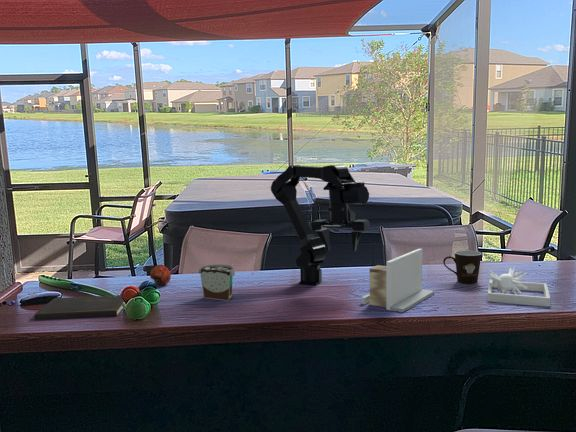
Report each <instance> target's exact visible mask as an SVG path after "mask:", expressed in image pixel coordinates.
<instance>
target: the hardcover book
mask: <svg viewBox="0 0 576 432" xmlns="http://www.w3.org/2000/svg"><path fill="white" fill-rule="evenodd" d="M121 295H122V294H121ZM121 295H118V294H117V295H115V296H116V297H117V298H114V297H109V296H110V295H98V296H93V295H92V296H77V297H76V296H75V297H71V296H70V297H55V298H53V299H52V300H50V301H49V302H48V303H47V304H45V305H44V306H43V307H42V308H40V309H39V310H37V312H35V313H34V321H47V320H68V319H69V320H70V319H89V318H91V319H92V318H110V317H112V318H113V317H118V315H119V313H120V312H121V310H122V309H123V308H124V307H123V306H122V304H123V302H124V300H123V299H122V298H121Z"/></svg>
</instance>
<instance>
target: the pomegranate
mask: <svg viewBox="0 0 576 432" xmlns="http://www.w3.org/2000/svg"><path fill="white" fill-rule="evenodd" d="M168 267H169V265H168V264H167V265H165V266H164V265H156V266H154V267H152V268H151V269H150V273H149V274H150V275H149V276H150V277H149V278H150V279H152V280H153V281H154V283H153V284H154V285H155V284H157V285H162V286H165V285H167V284H168V283H169V282H170V281H171V277H172V273H171V271H170V270H169V268H168Z"/></svg>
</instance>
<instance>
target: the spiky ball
mask: <svg viewBox="0 0 576 432" xmlns="http://www.w3.org/2000/svg"><path fill="white" fill-rule="evenodd" d="M487 271H488V272H487ZM487 271H486V274H487V275H488V277H489V278H490V280H492V281H493V282H492V283H491V282H490V281H488V286H489V285H490V287H491V290H492V293H494V292H493V288H492V287H496V285H497V284H498V288H497V293H498V292H501V294H508V291H510V290H511V292H512V293H514V295H518V294H517V292H518V293H520V295H523V294H522V293H523V292H522V290H519V289H518V288H517V287H523V288H525V289H527V288H528V287H527V286H524V285H523V284H522V283H520V282H522V281H523V278H522V277H524V276H525V275H528V272H525V273H523V272H524V270H523V269H522V270H520V271H516V272H515V267H513V268H512V267H509V270H508V273H502V274H500V275H498V274H496V273H495V272H493V271H492V270H491V269H488V270H487ZM495 282H496V283H495ZM494 283H495V285H494ZM516 286H517V287H516ZM516 291H517V292H516Z"/></svg>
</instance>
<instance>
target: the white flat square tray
mask: <svg viewBox="0 0 576 432" xmlns="http://www.w3.org/2000/svg"><path fill="white" fill-rule="evenodd" d="M489 282H491V283H492V282H493V281H492V279H489ZM519 282H520V283H522V284H523V285H524V286H527V287H528V288H527V289H525V288H523V287H517V286H516V287H517V288H518V289H519V290H520V291H528V292H529V291H531V292H542V293H543V295H544V296H537V295H535V296H534V295H525V294H517V295H515V293H514V294H512V293H507V294H505V293H504V294H502V292H500V293H498V292H492V290H493V289H498V284H497V285H496V287H492V290H491V287H490V285H489V284H488V290H487V302H493V303H501V304H502V303H503V304H516V305H525V306H538V307H546V308H547V307H550V306H551V295H550V291H549V288H548V283H543V282H542V283H541V282H533V281H532V282H530V281H528V282H527V281H519ZM495 283H496V282H495ZM495 283H494V285H495Z"/></svg>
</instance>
